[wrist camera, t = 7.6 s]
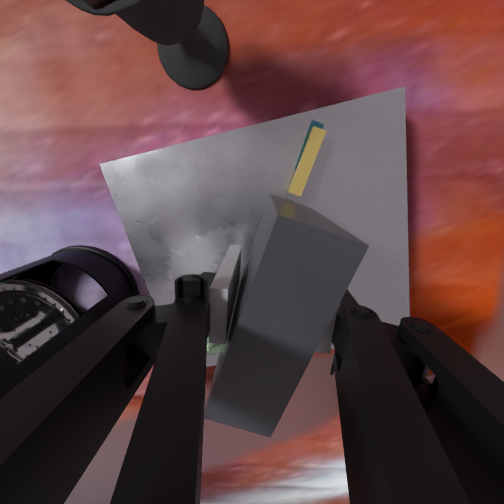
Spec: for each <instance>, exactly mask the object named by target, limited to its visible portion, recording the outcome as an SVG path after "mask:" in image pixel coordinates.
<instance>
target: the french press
mask: <svg viewBox="0 0 504 504" xmlns="http://www.w3.org/2000/svg"><path fill="white" fill-rule="evenodd" d="M64 264H67V265H70V266H73V267H75V268H77V269H79V270H81V271H83V272H85V273H86V274H88V275H89V276H90V277H92V278H93V279H94V280H95V281H96V282H97V283H98V284H99V285H100V286H101V287H102V288H103V289H104V291H105V292H106V293H107V296H106V297H105V298H103V299H102V300H101V301H99V302H98V303H97V304H95V305H94V306H93V307H91V308H90V309H89V310H87V311H86V312H85V313H83V314H82V312H81V311H80V310H79V308H78V307H77V306H76V305H75V304H74V303H73V302H72V301H71V300H70V299H68V298H67V297H66V296H65V295H63V294H62V293H60V292H59V291H58V290H56V289H55V288H54V279H55V276H56V273H57V271H58V270H59V268H60V267H61V266H63V265H64ZM13 277H15V278H13ZM137 295H139V291H138V287H137V284H136V282H135V280H134V278H133V276H132V274H131V273H130V271H129V270H128V269H127V268H126V267H125V266H124V264H123V263H122V262H121V261H119V260H118V259H117V258H115V257H114V256H113V255H111V254H109V253H107V252H105V251H103V250H101V249H98V248H95V247H90V246H83V245H79V246H70V247H66V248H63V249H60V250H58V251H56V252H55V253H53V254H52V255H51V256H48V257H46V258H43V259H40V260H37V261H35V262H32V263H29V264H27V265H24V266H21V267H19V268H16V269H13V270H10V271H8V272H5V273H2V274H0V399H1V398H2V397H3V396H5V395H6V394H7V393H8V392H10V391H11V390H12V389H13V388H15V387H16V386H17V385H18V384H19V383H21V382H22V381H23V380H24V379H26V378H27V377H28V376H29V375H31V374H32V373H33V372H34V371H36V370H37V369H38V368H39V367H41V366H42V365H43V364H44V363H45V362H47V361H48V360H49V359H50V358H52V357H53V356H54V355H55V354H57V353H58V352H59V351H60V350H62V349H63V348H64V347H65V346H66V345H68V344H69V343H70V342H71V341H73V340H74V339H75V338H76V337H78V336H79V335H80V334H81V333H83V332H84V331H85V330H86V329H88V328H89V327H90V326H91V325H92V324H94V323H95V322H96V321H97V320H99V319H100V318H101V317H102V316H104V315H105V314H106V313H107V312H109V311H110V310H111V309H112V308H113V307H115V306H116V305H117V304H118V303H120V302H121V301H123V300H124V299H127V298H130V297H132V296H137Z"/></svg>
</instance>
